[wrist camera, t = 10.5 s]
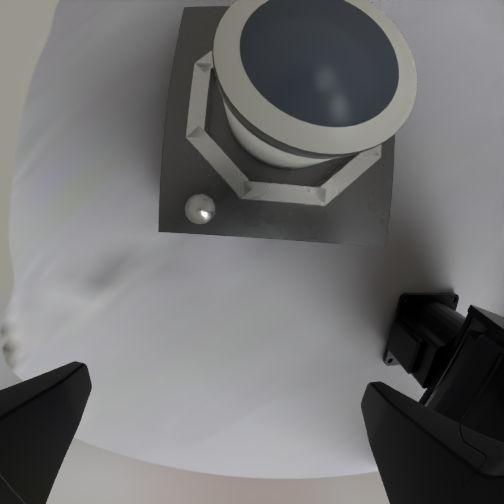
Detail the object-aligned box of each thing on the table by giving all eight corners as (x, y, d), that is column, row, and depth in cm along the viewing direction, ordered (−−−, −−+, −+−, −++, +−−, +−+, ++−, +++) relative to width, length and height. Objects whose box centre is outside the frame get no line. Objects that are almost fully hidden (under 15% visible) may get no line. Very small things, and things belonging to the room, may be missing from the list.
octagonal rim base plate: (361, 61, 17) (398, 26, 11) (353, 233, 20) (395, 252, 14) (196, 43, 17) (180, -4, 10) (179, 220, 19) (151, 235, 13)
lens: (346, 68, 13) (408, 5, 6) (343, 176, 14) (420, 171, 7) (231, 54, 12) (224, -31, 6) (221, 165, 14) (200, 144, 7)
